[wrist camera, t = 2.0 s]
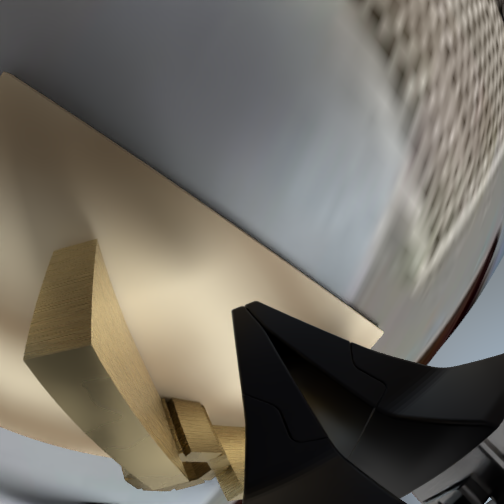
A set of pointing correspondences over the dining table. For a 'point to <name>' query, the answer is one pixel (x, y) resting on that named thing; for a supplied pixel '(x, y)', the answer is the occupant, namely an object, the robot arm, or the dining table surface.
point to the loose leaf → (99, 367)
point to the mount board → (132, 267)
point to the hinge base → (203, 449)
